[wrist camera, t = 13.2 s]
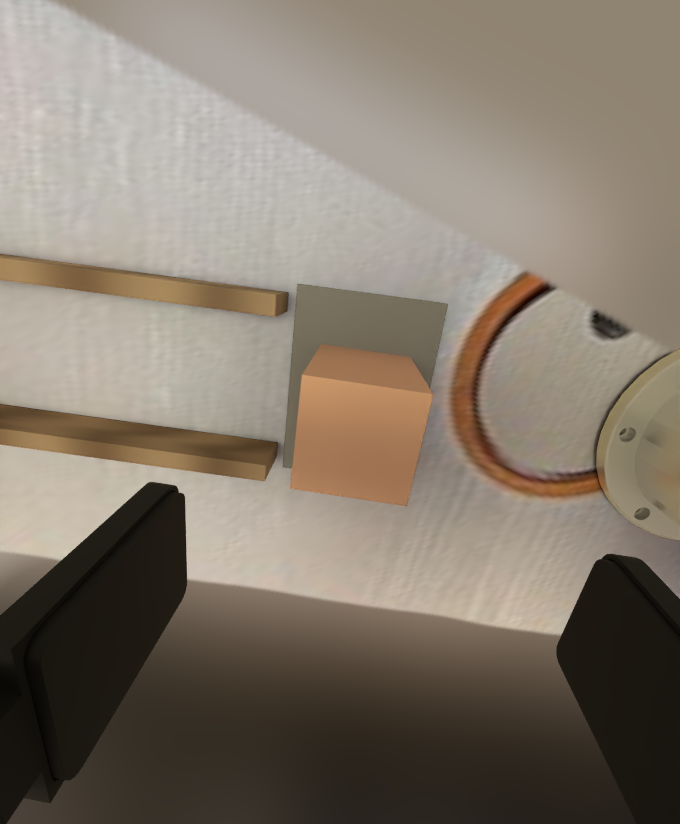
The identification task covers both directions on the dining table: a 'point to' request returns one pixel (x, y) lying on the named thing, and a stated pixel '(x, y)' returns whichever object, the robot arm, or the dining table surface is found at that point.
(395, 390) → the block
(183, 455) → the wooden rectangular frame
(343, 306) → the mat
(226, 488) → the dining table surface
